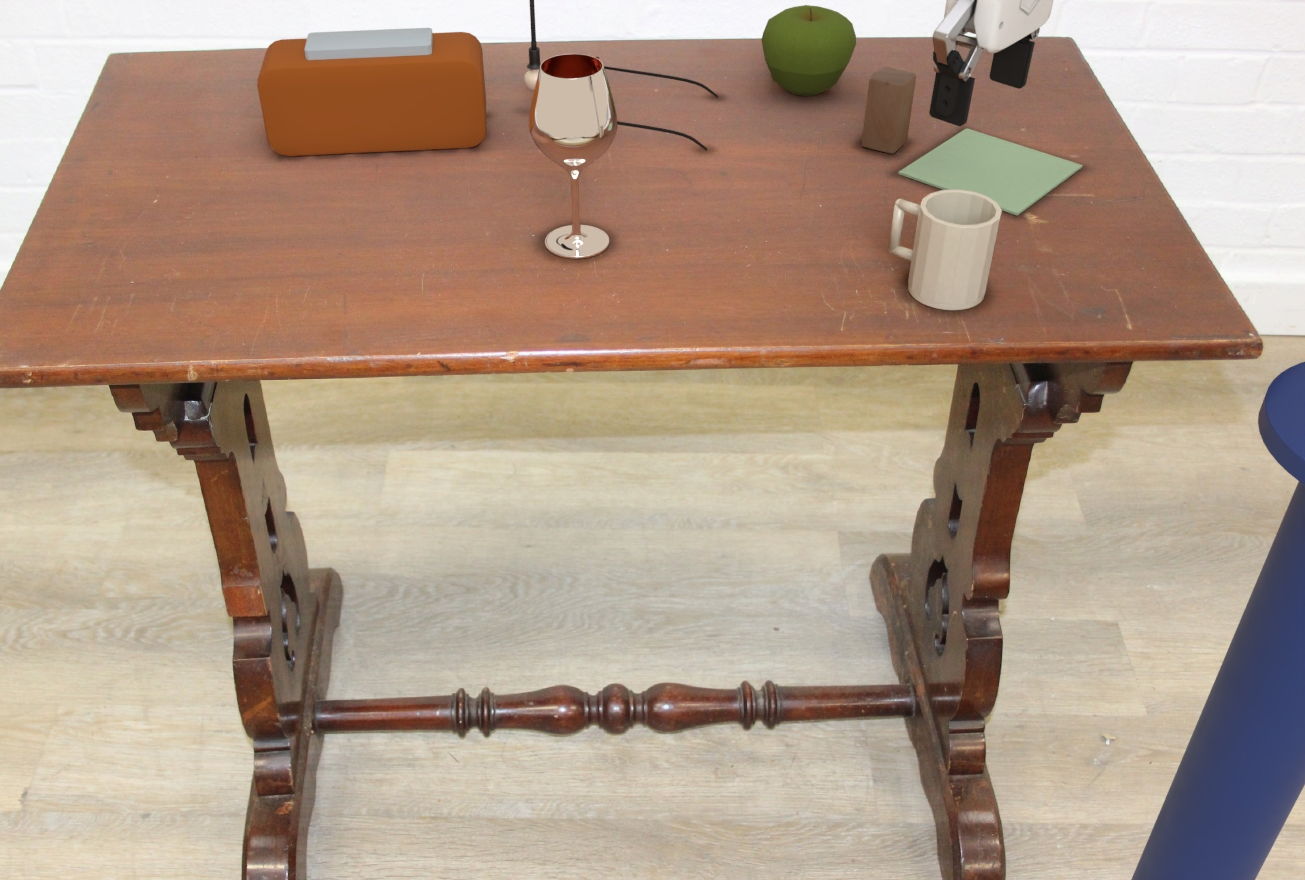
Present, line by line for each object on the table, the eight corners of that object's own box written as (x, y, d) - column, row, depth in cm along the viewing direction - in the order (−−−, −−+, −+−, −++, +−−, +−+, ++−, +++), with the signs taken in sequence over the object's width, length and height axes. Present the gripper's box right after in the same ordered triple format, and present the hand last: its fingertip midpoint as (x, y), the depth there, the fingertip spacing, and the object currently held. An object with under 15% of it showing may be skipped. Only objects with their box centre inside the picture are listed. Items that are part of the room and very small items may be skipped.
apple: (756, 107, 155) (761, 22, 148) (760, 71, 163) (766, -11, 156) (850, 111, 154) (860, 26, 147) (850, 75, 162) (859, -8, 155)
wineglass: (539, 266, 128) (530, 87, 116) (531, 225, 134) (522, 51, 123) (623, 260, 129) (623, 81, 117) (611, 219, 135) (610, 45, 123)
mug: (999, 288, 124) (1016, 205, 118) (959, 319, 120) (975, 235, 114) (906, 252, 129) (918, 172, 124) (865, 281, 125) (876, 199, 120)
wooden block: (893, 155, 145) (903, 85, 140) (859, 147, 147) (868, 77, 141) (907, 141, 147) (918, 72, 142) (874, 133, 149) (883, 64, 144)
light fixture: (564, 119, 153) (556, -108, 137) (506, 120, 153) (492, -108, 137) (566, 95, 158) (559, -127, 142) (510, 95, 158) (497, -126, 142)
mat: (1082, 167, 142) (1082, 165, 142) (1017, 215, 134) (1017, 213, 134) (966, 130, 149) (966, 127, 149) (898, 174, 142) (898, 171, 141)
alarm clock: (487, 116, 154) (480, 19, 147) (487, 148, 148) (480, 48, 141) (278, 125, 153) (261, 28, 146) (269, 158, 147) (251, 58, 139)
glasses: (593, 90, 159) (597, 50, 156) (715, 110, 158) (722, 70, 155) (572, 143, 148) (577, 101, 145) (704, 165, 148) (711, 123, 144)
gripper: (1007, -75, 94) (964, 150, 105) (1117, -129, 103) (1067, 82, 115) (915, -97, 98) (882, 122, 109) (1030, -147, 107) (989, 58, 118)
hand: (977, 101), depth 112 cm, fingers open, 9 cm apart
